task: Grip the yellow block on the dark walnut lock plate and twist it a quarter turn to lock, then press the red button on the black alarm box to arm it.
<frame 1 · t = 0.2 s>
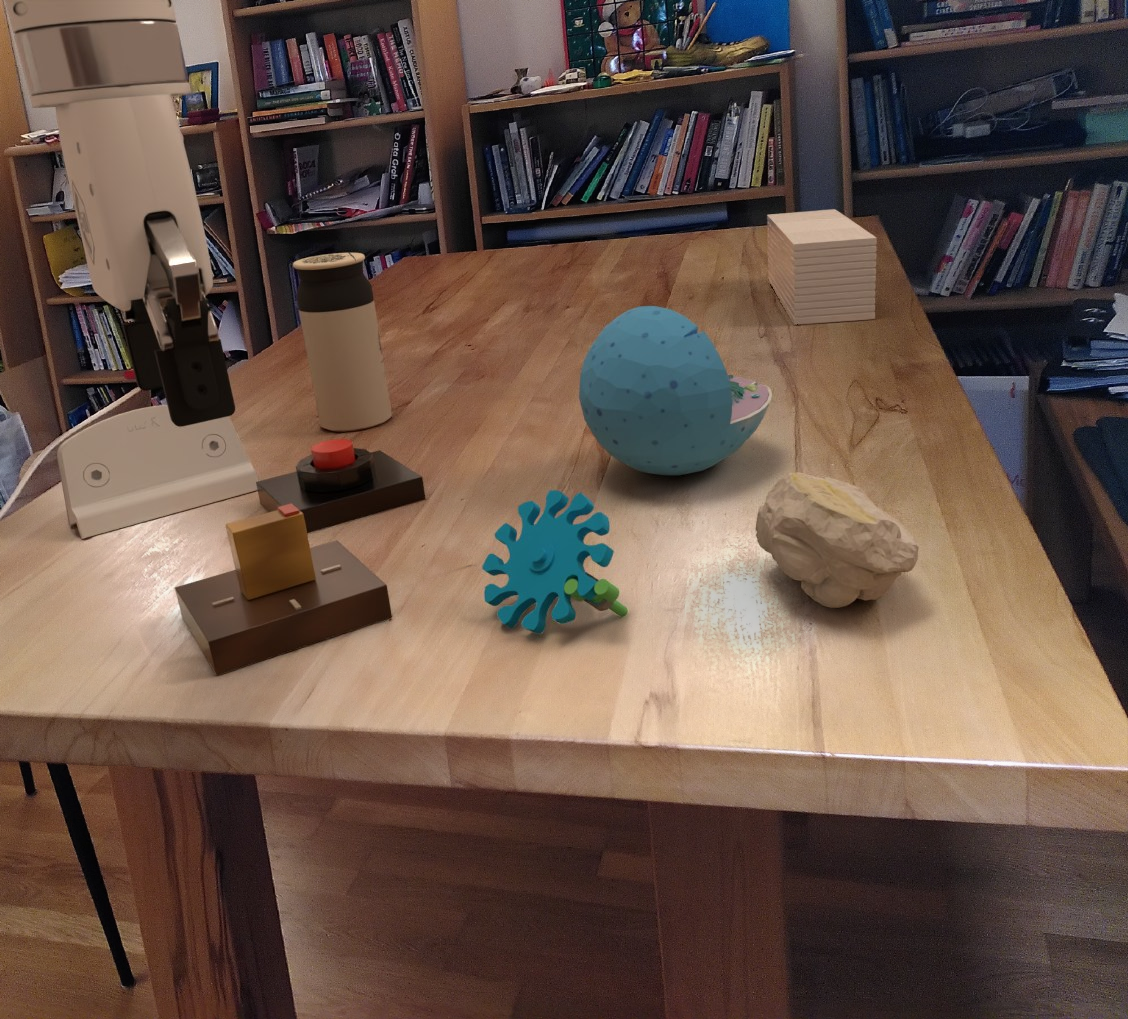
hand: (184, 401, 58), 18 cm above the table, tool pointing down, fingers open, 9 cm apart
lock plate: (285, 618, 73), on the table
yellow block: (271, 550, 71), point 5 cm above the table, hinge at 0.0°
beige rock: (830, 590, 70), on the table
travel mug: (356, 423, 116), on the table
hinge: (165, 505, 97), on the table
alarm box: (342, 502, 93), on the table
educational model: (679, 468, 94), on the table
gear: (557, 616, 70), on the table
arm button: (333, 454, 91), point 4 cm above the table, slide at 0.1 cm
grooved wooden block: (816, 300, 155), on the table
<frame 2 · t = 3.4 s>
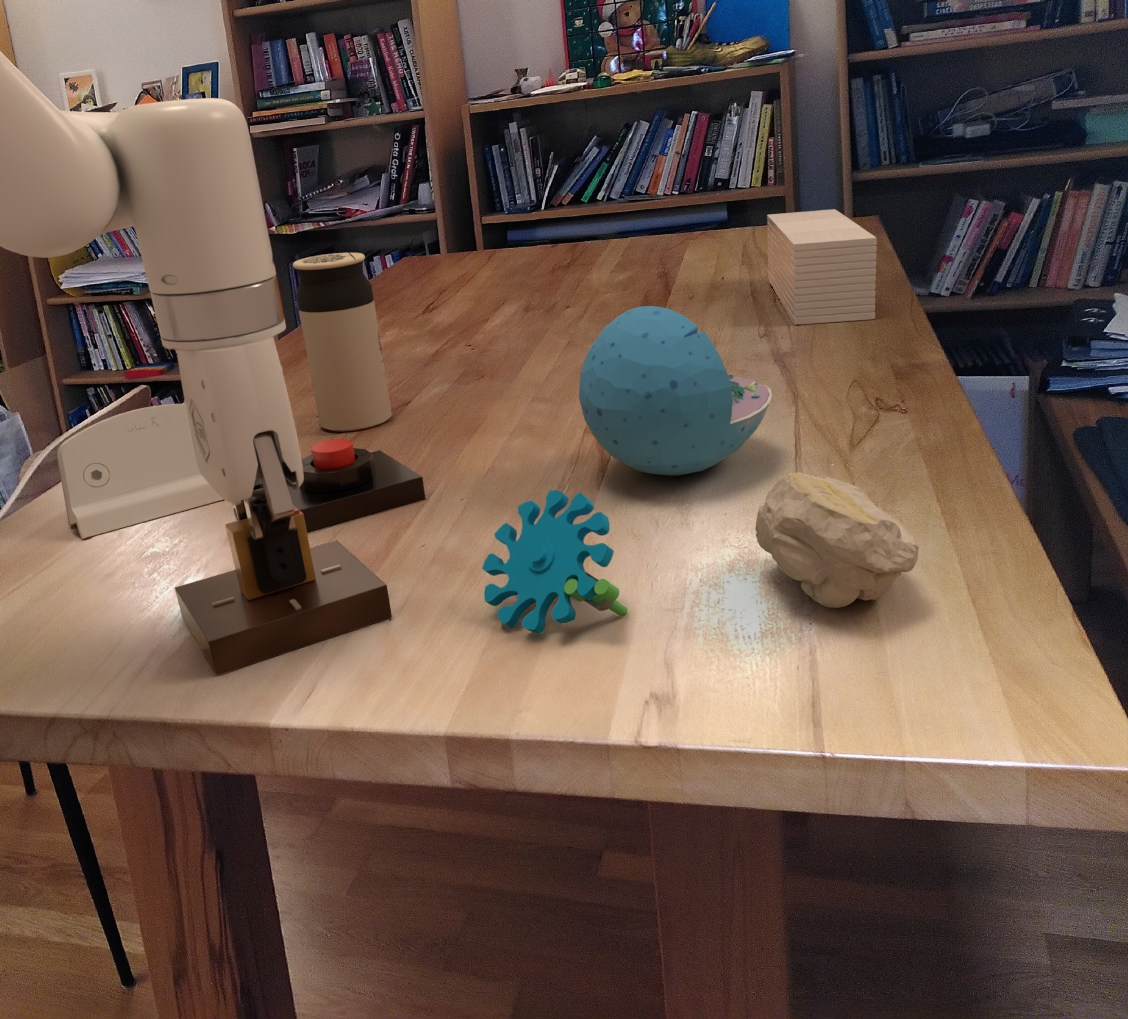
hand: (276, 577, 72), 3 cm above the table, tool pointing down, fingers closed on yellow block, 2 cm apart
yellow block: (271, 550, 71), point 5 cm above the table, hinge at 0.0°, touching gripper
everything else where it was.
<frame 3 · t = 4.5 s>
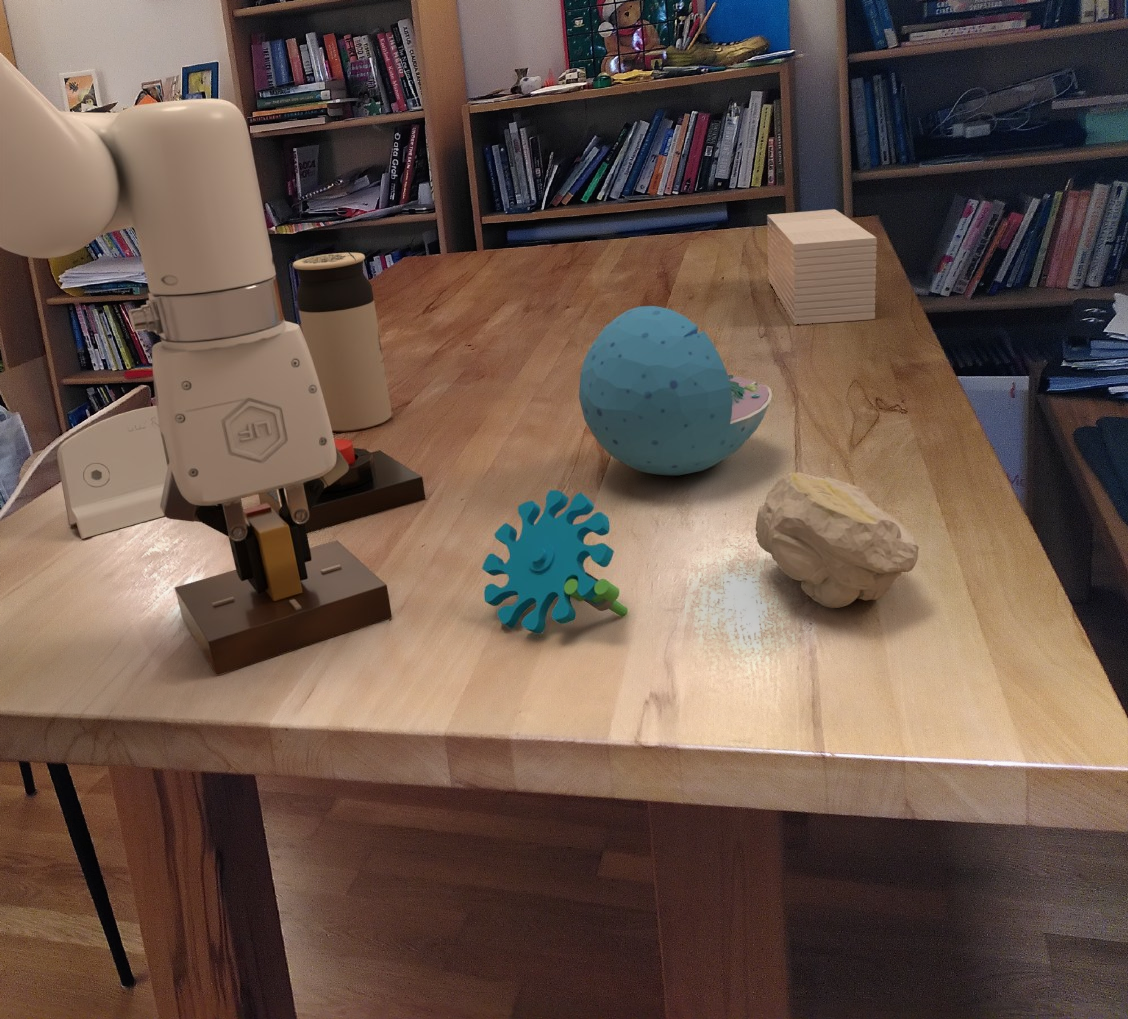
hand: (277, 577, 72), 3 cm above the table, tool pointing down, fingers closed on yellow block, 2 cm apart
yellow block: (271, 550, 71), point 5 cm above the table, hinge at 89.3°, touching gripper
everything else where it was.
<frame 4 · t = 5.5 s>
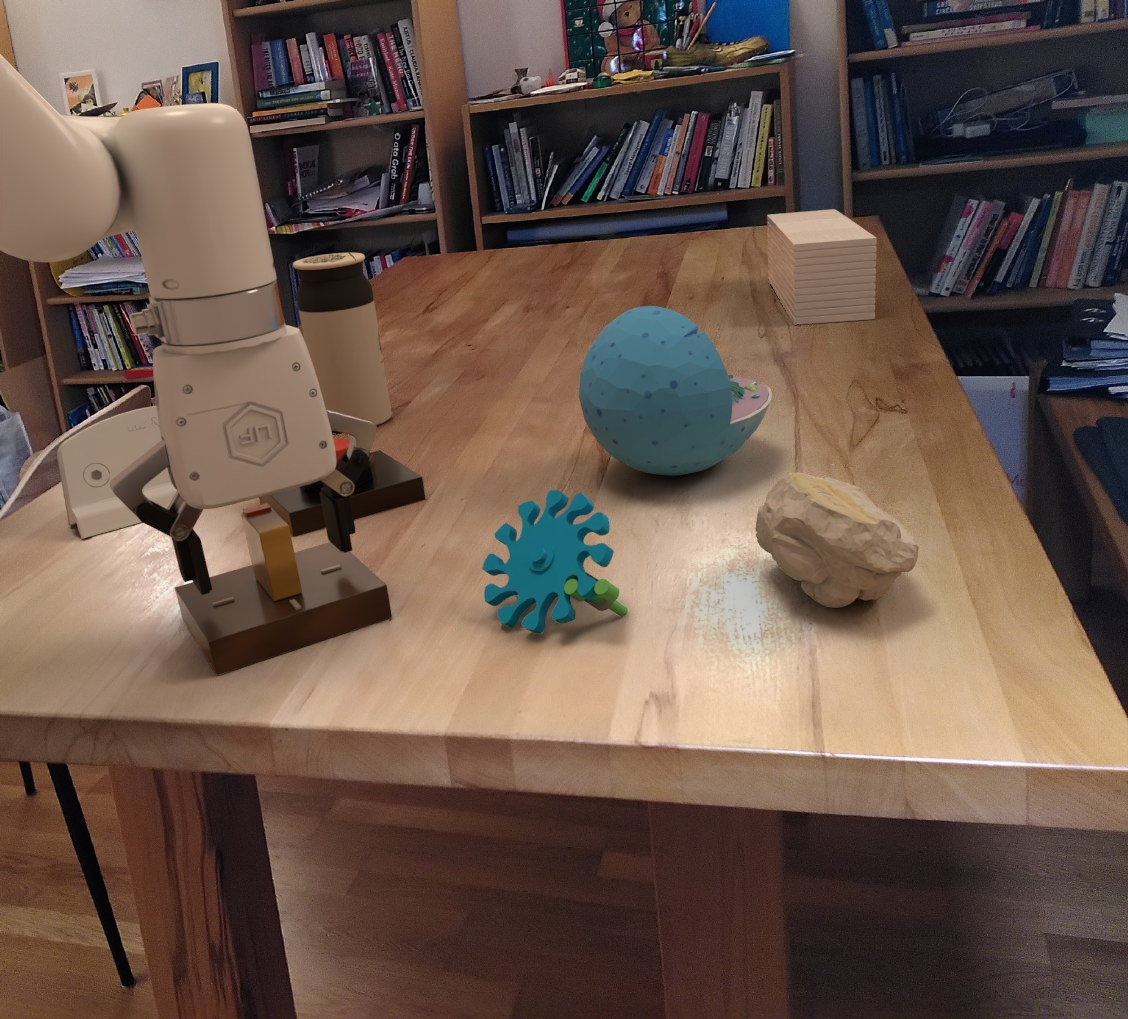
hand: (273, 565, 71), 4 cm above the table, tool pointing down, fingers open, 9 cm apart
yellow block: (271, 550, 71), point 5 cm above the table, hinge at 89.3°
everything else where it was.
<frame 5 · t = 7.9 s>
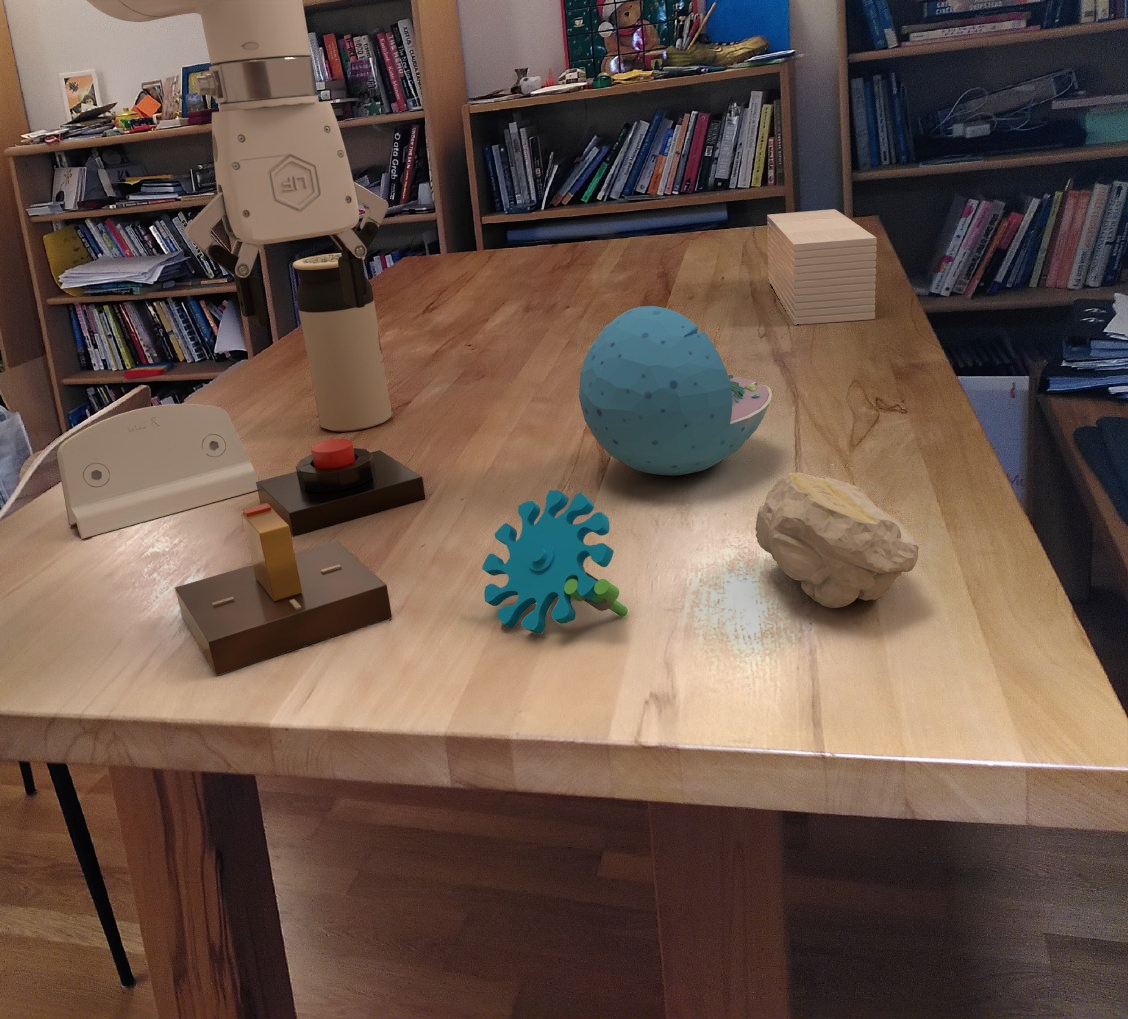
hand: (307, 313, 87), 17 cm above the table, tool pointing down, fingers open, 7 cm apart
nothing on the table moved.
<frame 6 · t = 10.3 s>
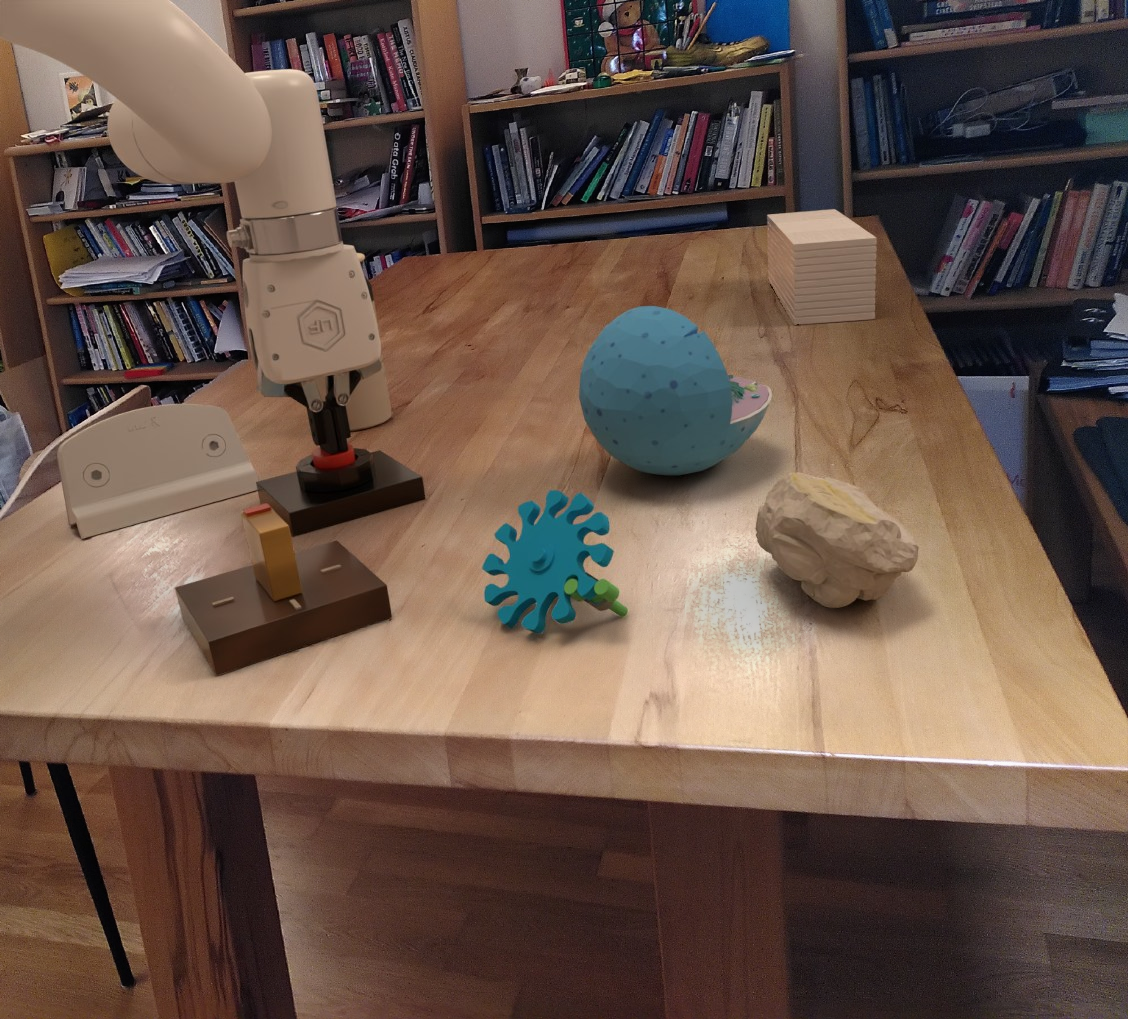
hand: (334, 449, 91), 5 cm above the table, tool pointing down, fingers closed
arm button: (334, 459, 92), point 4 cm above the table, slide at -0.3 cm, touching gripper
everything else where it was.
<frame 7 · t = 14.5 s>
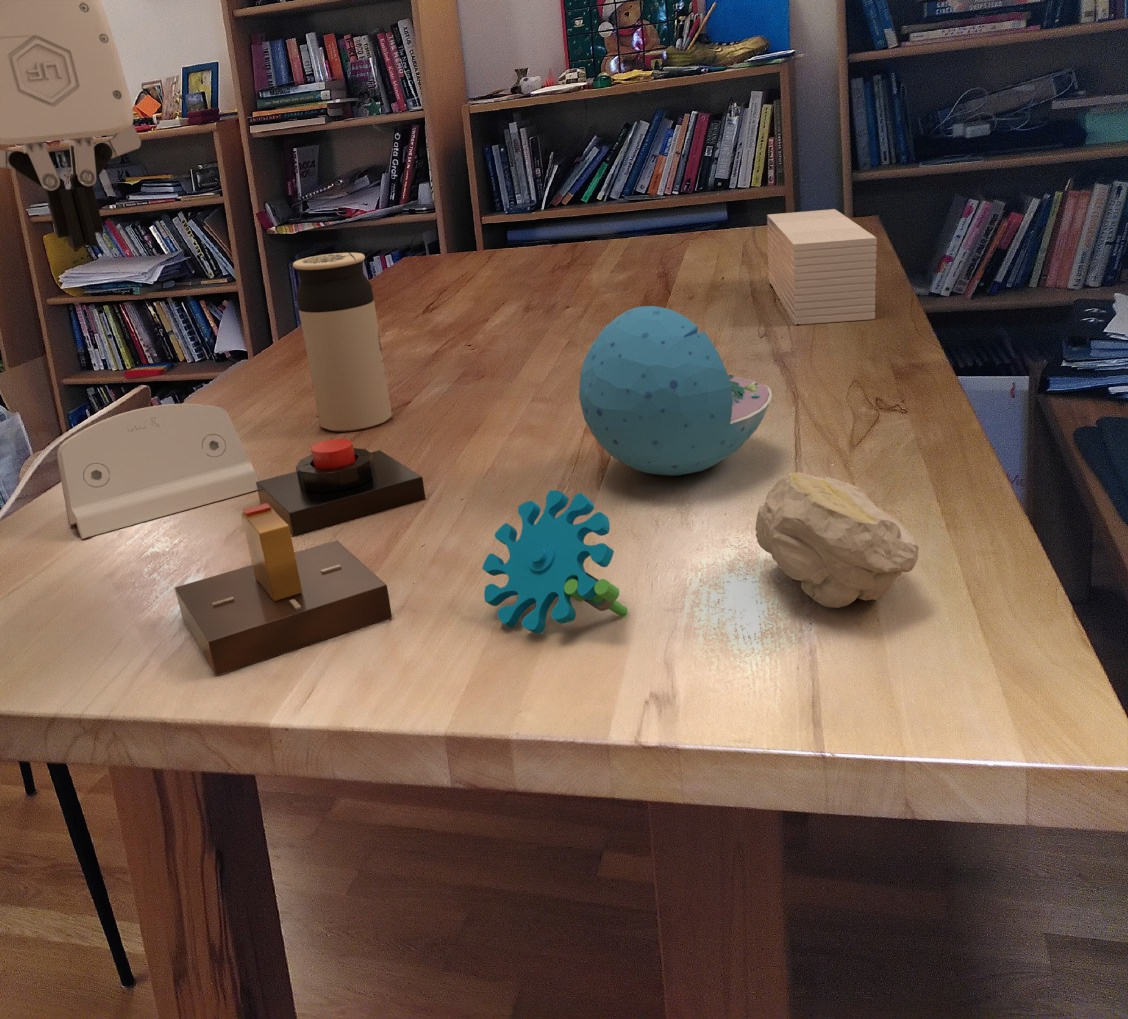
hand: (83, 245, 74), 25 cm above the table, tool pointing down, fingers closed
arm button: (333, 454, 91), point 4 cm above the table, slide at 0.1 cm
everything else where it was.
at the end: yellow block at +89° (first picture: +0°); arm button pushed in 1.1 cm at the most during the clip, back to where it started at the end; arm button slide at 0.1 cm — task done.
